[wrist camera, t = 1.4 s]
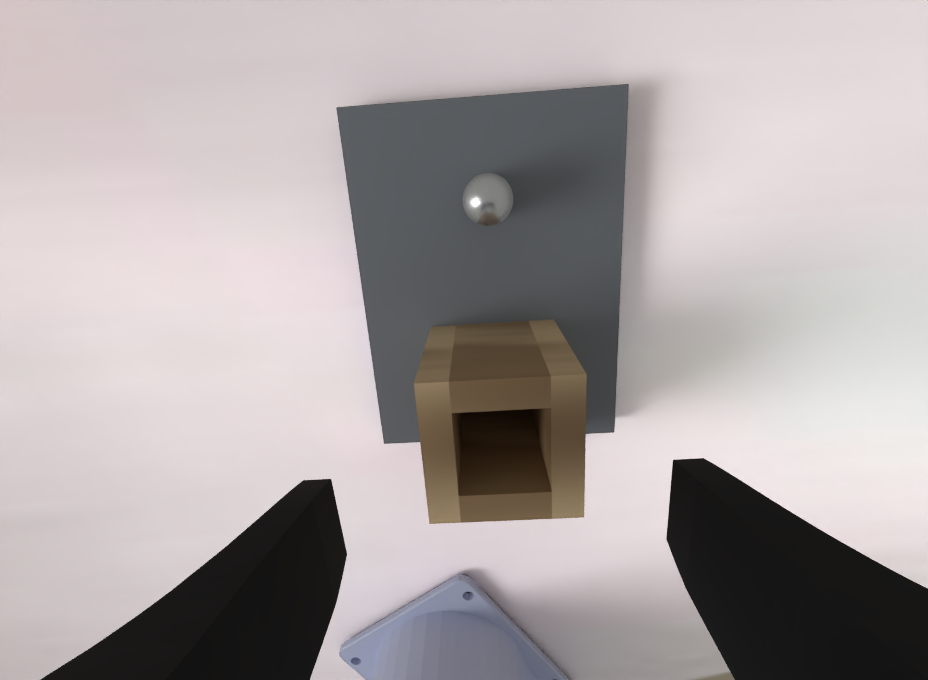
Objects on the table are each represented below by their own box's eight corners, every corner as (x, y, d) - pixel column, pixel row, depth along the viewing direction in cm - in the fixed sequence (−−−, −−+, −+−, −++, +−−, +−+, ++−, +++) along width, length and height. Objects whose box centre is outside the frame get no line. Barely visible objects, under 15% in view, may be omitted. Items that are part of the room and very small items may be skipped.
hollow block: (554, 428, 18) (583, 517, 13) (441, 434, 18) (429, 523, 13) (553, 319, 16) (586, 374, 12) (430, 326, 16) (413, 383, 12)
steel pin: (515, 201, 15) (523, 204, 13) (481, 228, 15) (483, 236, 13) (490, 165, 15) (492, 162, 12) (456, 193, 15) (452, 195, 13)
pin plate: (607, 419, 19) (614, 432, 18) (388, 430, 19) (384, 443, 18) (618, 90, 15) (628, 84, 14) (344, 112, 15) (336, 107, 14)
